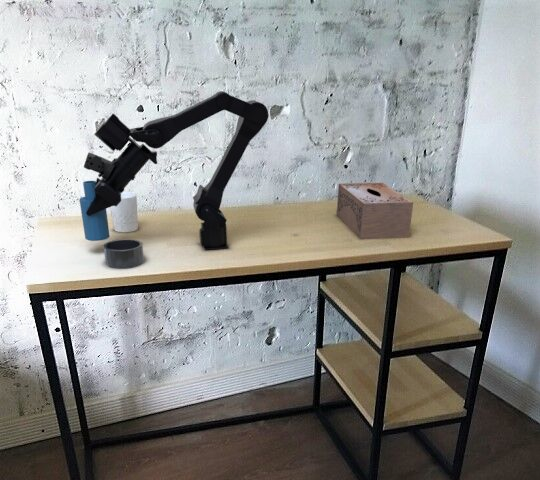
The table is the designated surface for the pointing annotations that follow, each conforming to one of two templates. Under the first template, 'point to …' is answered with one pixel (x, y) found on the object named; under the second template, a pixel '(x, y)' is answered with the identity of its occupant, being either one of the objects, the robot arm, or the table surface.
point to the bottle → (93, 216)
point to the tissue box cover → (374, 210)
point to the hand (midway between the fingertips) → (88, 211)
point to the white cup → (125, 213)
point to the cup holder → (123, 253)
